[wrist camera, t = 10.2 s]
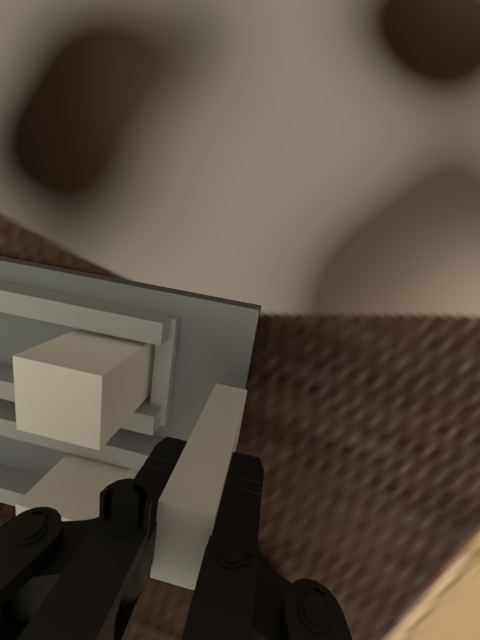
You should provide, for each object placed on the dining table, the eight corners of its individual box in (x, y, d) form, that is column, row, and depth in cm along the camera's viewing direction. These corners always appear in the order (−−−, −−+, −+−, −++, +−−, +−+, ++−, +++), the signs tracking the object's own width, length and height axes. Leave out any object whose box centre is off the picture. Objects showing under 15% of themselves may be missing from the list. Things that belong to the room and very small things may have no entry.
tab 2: (81, 482, 20) (18, 557, 15) (82, 438, 19) (15, 504, 14) (136, 497, 20) (89, 578, 15) (140, 453, 19) (90, 525, 14)
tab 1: (88, 379, 18) (16, 429, 13) (89, 323, 17) (12, 355, 12) (150, 393, 17) (99, 450, 13) (155, 337, 17) (102, 376, 12)
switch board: (-84, 451, 23) (-131, 477, 21) (-121, 232, 19) (-188, 230, 16) (218, 533, 21) (209, 576, 18) (261, 305, 16) (256, 317, 14)
